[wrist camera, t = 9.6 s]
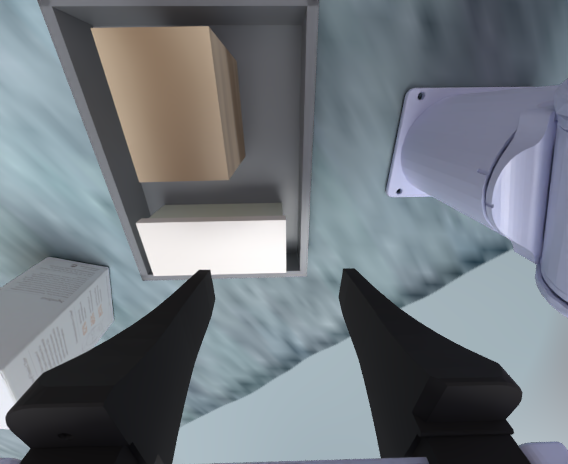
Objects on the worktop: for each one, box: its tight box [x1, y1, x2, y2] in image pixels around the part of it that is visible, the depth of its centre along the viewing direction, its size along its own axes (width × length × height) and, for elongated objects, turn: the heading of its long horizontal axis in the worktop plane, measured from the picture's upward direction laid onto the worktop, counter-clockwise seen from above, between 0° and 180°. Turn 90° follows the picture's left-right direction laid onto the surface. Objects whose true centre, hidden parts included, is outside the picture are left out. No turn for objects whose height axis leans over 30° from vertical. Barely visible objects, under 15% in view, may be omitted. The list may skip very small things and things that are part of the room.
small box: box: [0, 257, 114, 429], centre depth 20 cm, size 8×6×10 cm
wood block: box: [91, 26, 245, 182], centre depth 13 cm, size 4×6×7 cm
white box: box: [136, 203, 286, 276], centre depth 19 cm, size 10×5×4 cm, turn 90°
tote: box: [37, 0, 319, 281], centre depth 17 cm, size 14×18×4 cm
